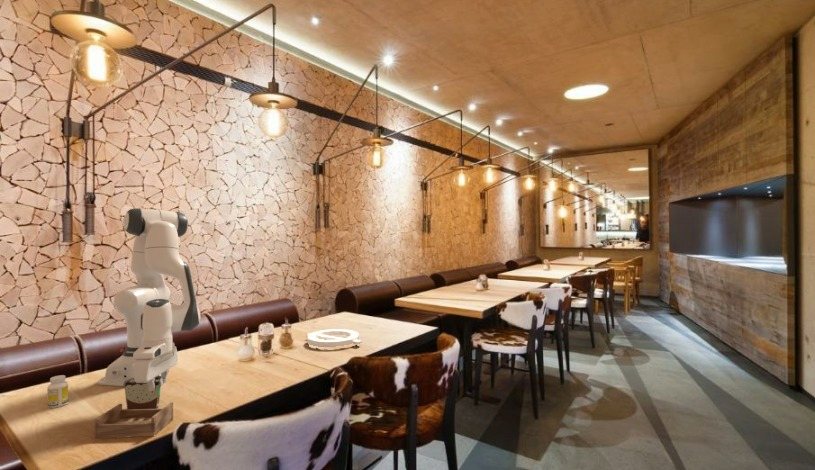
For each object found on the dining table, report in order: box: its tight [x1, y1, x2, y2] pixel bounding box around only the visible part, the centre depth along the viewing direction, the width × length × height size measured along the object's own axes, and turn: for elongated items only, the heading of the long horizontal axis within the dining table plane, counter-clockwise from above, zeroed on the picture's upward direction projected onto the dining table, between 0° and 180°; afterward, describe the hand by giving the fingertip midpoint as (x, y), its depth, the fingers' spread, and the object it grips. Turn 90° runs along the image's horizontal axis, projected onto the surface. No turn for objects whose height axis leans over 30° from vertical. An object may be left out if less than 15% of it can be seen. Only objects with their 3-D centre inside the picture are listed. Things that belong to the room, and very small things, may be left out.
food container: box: [122, 375, 164, 410], centre depth 136 cm, size 12×6×10 cm, turn 97°
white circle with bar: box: [306, 328, 363, 347], centre depth 216 cm, size 28×28×5 cm
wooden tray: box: [94, 402, 174, 439], centre depth 120 cm, size 10×17×6 cm, turn 93°
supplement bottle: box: [46, 374, 69, 409], centre depth 136 cm, size 5×5×10 cm
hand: (157, 386), depth 135 cm, fingers closed on food container, 5 cm apart
